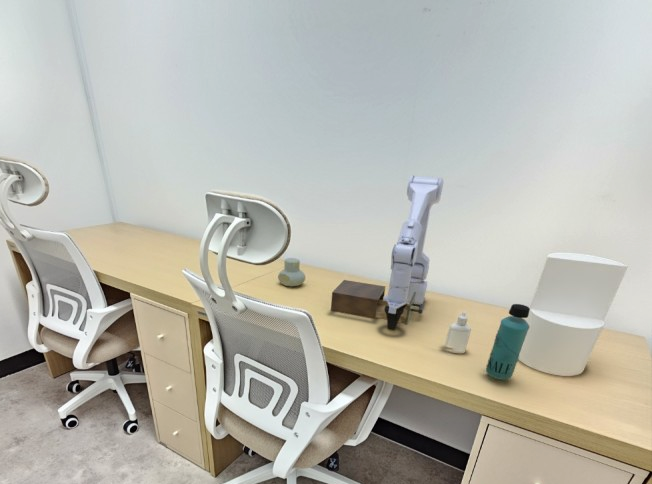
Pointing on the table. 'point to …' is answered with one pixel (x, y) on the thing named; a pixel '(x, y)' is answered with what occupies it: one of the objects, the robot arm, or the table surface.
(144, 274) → the table surface
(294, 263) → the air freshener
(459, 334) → the eye dropper bottle
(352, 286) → the cabinet
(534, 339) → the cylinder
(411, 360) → the table surface
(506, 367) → the beverage bottle
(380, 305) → the drawer
